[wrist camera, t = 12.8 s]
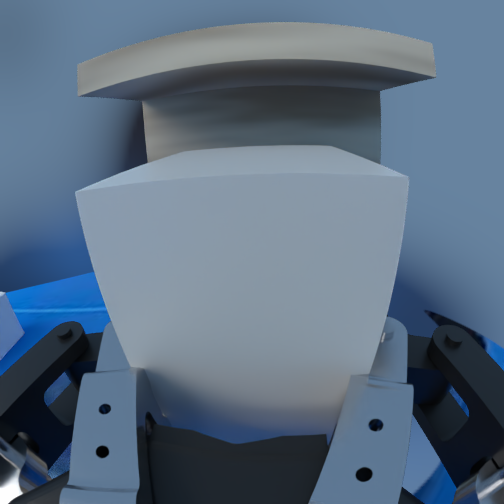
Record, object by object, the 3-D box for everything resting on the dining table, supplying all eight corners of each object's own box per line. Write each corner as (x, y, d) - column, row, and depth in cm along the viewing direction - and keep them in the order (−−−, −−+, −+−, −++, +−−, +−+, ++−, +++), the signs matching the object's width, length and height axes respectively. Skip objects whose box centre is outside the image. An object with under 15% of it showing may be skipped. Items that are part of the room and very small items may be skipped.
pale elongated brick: (321, 482, 8) (408, 177, 3) (195, 477, 8) (74, 191, 4) (313, 373, 14) (329, 145, 9) (218, 371, 14) (186, 150, 10)
